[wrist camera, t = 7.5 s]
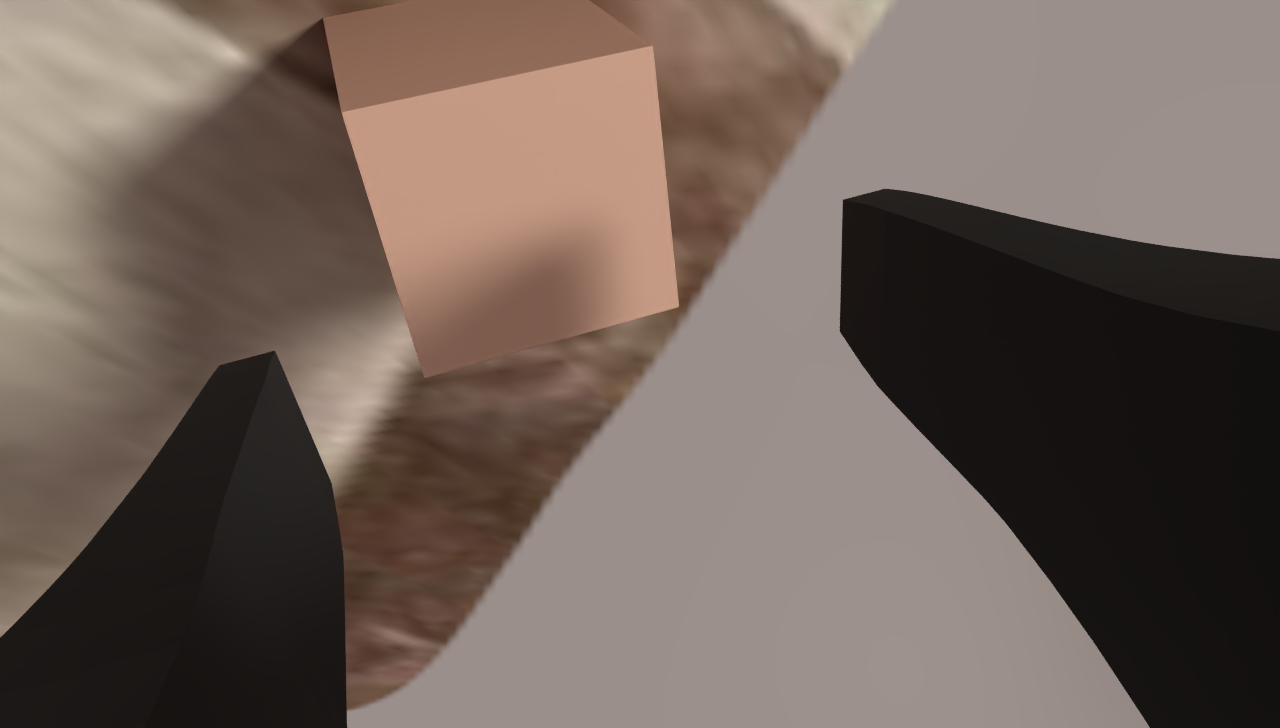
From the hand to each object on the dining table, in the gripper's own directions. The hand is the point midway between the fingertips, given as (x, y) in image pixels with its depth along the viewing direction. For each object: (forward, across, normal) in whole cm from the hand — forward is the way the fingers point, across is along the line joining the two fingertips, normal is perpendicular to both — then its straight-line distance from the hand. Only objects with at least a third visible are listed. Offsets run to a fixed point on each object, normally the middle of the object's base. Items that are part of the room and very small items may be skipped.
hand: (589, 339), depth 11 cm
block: (+10, 0, 0) cm, 10 cm away
